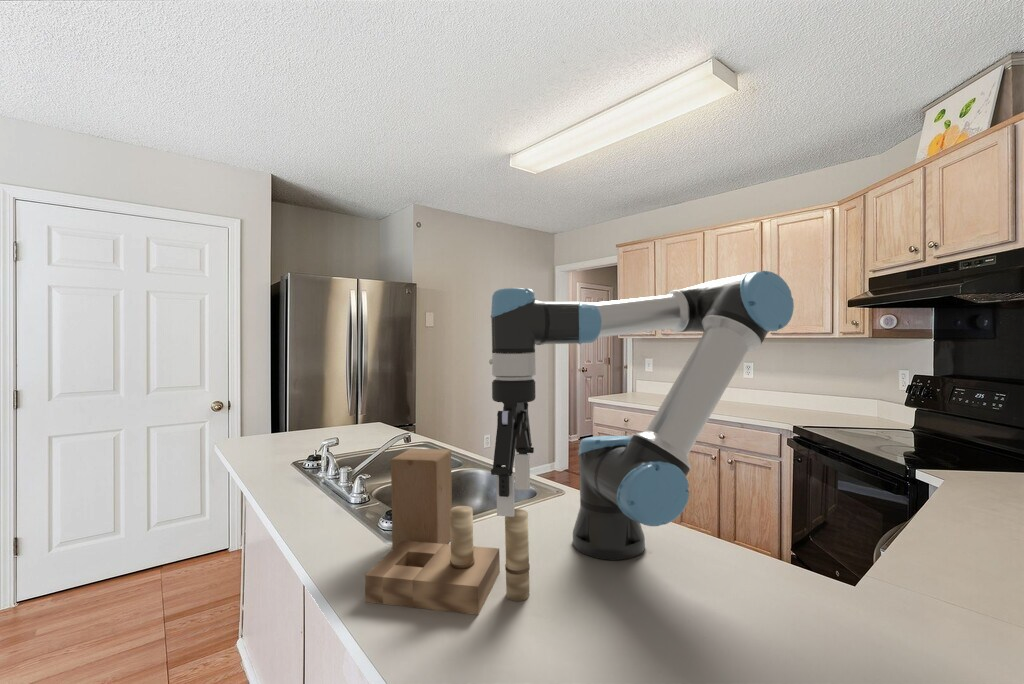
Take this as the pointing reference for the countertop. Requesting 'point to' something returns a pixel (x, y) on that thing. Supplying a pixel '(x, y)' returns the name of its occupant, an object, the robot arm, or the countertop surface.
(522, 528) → the peg
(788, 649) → the countertop surface
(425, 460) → the wooden block
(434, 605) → the board
